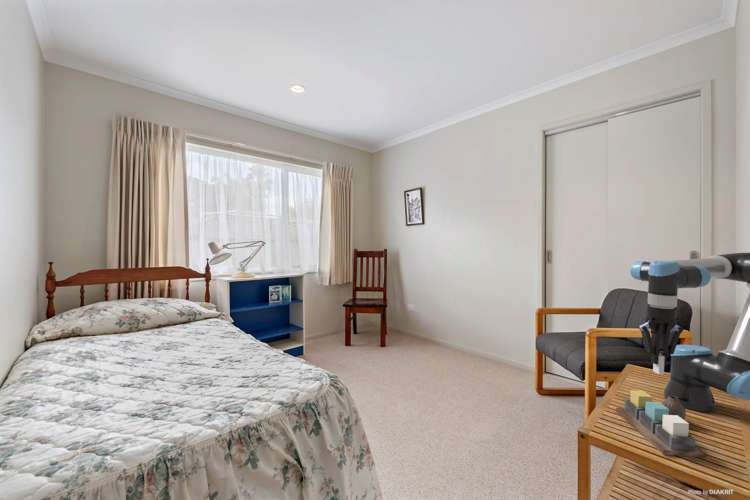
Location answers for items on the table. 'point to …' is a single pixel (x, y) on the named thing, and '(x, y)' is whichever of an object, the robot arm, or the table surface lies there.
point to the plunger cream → (675, 425)
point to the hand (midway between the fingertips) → (658, 372)
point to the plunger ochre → (639, 398)
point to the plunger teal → (656, 410)
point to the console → (659, 433)
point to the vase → (674, 407)
